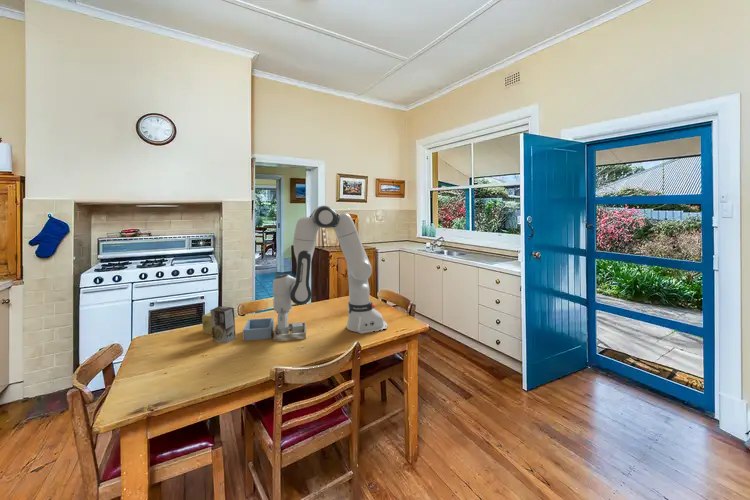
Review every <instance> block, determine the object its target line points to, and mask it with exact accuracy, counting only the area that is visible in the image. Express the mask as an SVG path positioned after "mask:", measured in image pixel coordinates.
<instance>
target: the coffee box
mask: <svg viewBox="0 0 750 500" xmlns="http://www.w3.org/2000/svg"><path fill="white" fill-rule="evenodd" d="M209 313H211V323H212V334H211V335H212V341H213V342H219V343H224V344H228V343H230V342H232V341H233V340H236V339H237V336H236V335H237V334H236V322H235V308H234V307H229V306H224V305H223V306H221V305H220V306H216V307H214V308H211V309H210V311H209Z"/></svg>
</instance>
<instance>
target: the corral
mask: <svg viewBox="0 0 750 500" xmlns="http://www.w3.org/2000/svg"><path fill="white" fill-rule="evenodd" d="M292 323H293V322H292ZM292 323H288V324H289V330H292ZM302 324H303V333H289V334H278V324H276V326H275V327H274V328H275V329H274V331H273V342H281V341H293V340H304V339H307V322H302Z"/></svg>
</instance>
